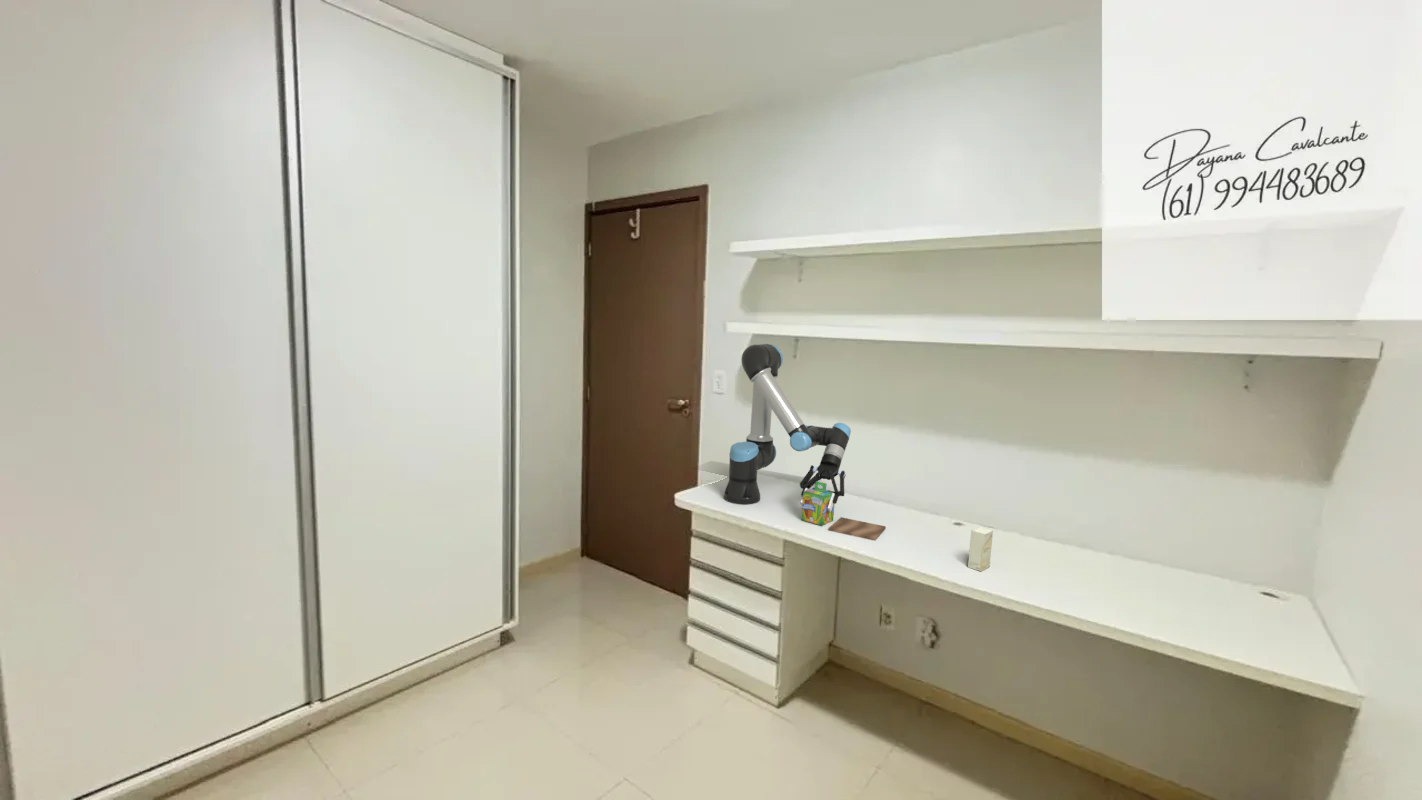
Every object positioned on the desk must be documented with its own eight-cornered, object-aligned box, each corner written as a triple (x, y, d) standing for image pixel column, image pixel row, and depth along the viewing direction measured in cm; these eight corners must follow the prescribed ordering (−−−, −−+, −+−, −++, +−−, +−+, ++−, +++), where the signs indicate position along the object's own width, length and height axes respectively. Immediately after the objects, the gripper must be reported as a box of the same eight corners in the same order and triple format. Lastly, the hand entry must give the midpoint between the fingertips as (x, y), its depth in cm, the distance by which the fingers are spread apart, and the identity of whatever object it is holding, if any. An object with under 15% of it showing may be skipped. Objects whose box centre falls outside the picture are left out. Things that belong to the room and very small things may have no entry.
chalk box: (800, 520, 222) (802, 482, 220) (813, 514, 229) (814, 478, 227) (822, 526, 216) (824, 487, 214) (834, 520, 223) (836, 482, 221)
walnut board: (828, 530, 213) (828, 527, 213) (840, 519, 225) (840, 517, 225) (875, 540, 204) (875, 537, 204) (885, 528, 216) (885, 526, 216)
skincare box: (981, 572, 181) (984, 534, 180) (966, 567, 185) (970, 530, 183) (990, 566, 185) (993, 530, 184) (976, 562, 189) (979, 526, 187)
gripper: (862, 468, 228) (846, 518, 217) (807, 459, 239) (789, 506, 228) (859, 457, 222) (843, 508, 211) (803, 448, 234) (785, 496, 222)
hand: (815, 507), depth 219 cm, fingers closed on chalk box, 10 cm apart
